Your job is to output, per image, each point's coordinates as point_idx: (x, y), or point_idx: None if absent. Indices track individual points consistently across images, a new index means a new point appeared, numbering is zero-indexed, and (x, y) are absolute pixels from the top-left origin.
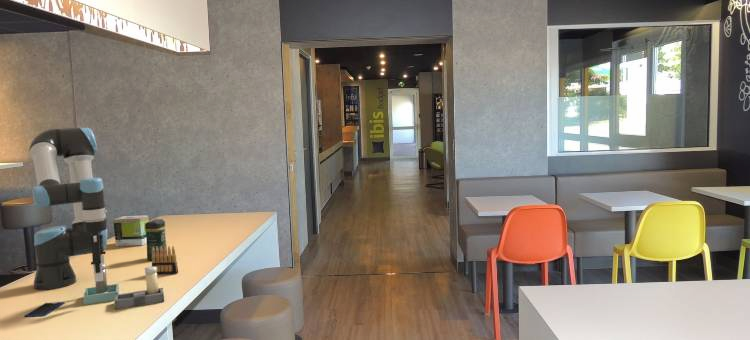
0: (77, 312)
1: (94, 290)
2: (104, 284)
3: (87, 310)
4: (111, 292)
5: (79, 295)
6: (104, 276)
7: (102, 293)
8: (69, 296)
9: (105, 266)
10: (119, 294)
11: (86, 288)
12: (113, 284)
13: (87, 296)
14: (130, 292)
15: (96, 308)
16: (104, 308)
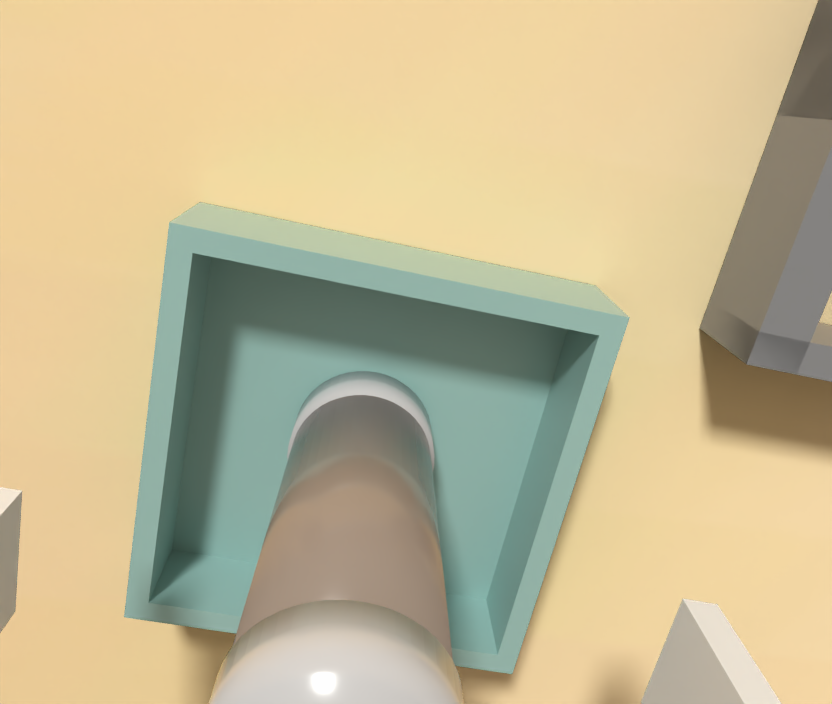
0: None
1: (167, 511)
2: (429, 487)
3: (713, 597)
4: (603, 391)
5: (60, 606)
6: (430, 552)
7: (556, 490)
8: (33, 686)
9: (416, 656)
10: (786, 319)
11: (140, 613)
12: (172, 297)
13: (521, 633)
14: (822, 168)
15: (722, 524)
16: (795, 461)
